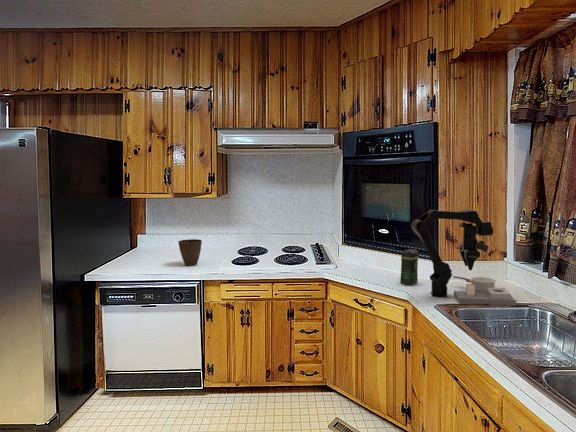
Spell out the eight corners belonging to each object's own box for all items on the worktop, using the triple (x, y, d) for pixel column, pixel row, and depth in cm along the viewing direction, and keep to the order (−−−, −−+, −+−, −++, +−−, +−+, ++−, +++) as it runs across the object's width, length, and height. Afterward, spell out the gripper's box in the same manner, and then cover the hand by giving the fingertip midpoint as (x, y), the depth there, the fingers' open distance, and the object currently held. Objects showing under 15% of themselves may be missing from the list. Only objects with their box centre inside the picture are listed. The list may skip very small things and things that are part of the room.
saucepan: (455, 284, 225) (455, 273, 225) (496, 289, 215) (497, 278, 214) (450, 289, 216) (450, 278, 215) (493, 294, 205) (494, 283, 204)
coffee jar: (412, 286, 220) (413, 251, 219) (398, 284, 225) (398, 249, 224) (419, 282, 228) (420, 248, 226) (405, 280, 233) (406, 247, 231)
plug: (467, 301, 195) (467, 284, 195) (465, 299, 198) (466, 283, 198) (474, 301, 195) (474, 285, 194) (472, 299, 198) (473, 283, 197)
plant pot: (175, 267, 270) (174, 242, 269) (184, 262, 285) (183, 239, 284) (197, 267, 269) (197, 242, 267) (205, 262, 283) (204, 239, 282)
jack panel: (458, 303, 192) (459, 292, 191) (453, 295, 204) (454, 285, 203) (516, 306, 187) (516, 295, 187) (507, 298, 199) (507, 287, 198)
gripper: (492, 239, 192) (491, 273, 194) (482, 233, 210) (481, 264, 212) (466, 239, 195) (465, 272, 196) (459, 233, 213) (458, 263, 214)
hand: (468, 268), depth 205 cm, fingers open, 9 cm apart
